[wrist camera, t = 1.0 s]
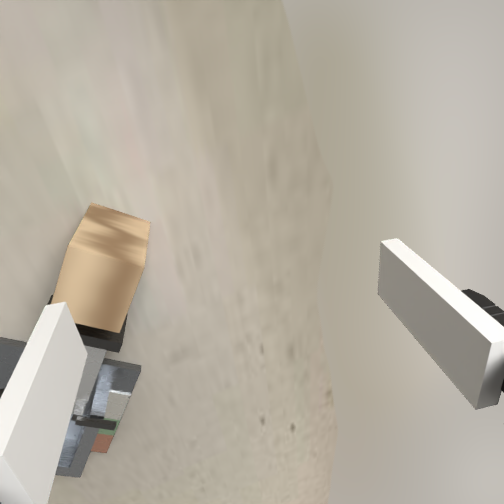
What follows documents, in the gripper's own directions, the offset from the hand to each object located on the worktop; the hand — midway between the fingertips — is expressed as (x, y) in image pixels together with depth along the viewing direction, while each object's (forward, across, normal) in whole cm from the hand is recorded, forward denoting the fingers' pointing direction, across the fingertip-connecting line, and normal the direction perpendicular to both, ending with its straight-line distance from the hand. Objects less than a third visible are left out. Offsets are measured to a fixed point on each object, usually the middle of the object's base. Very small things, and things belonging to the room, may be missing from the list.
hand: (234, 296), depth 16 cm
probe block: (+26, -10, -8) cm, 29 cm away
